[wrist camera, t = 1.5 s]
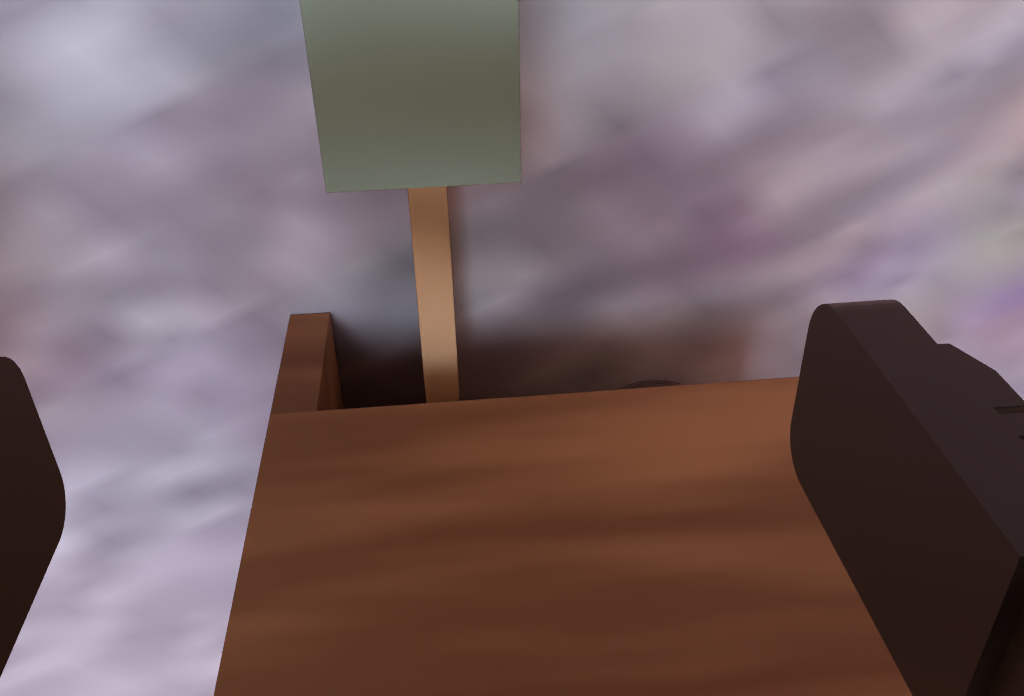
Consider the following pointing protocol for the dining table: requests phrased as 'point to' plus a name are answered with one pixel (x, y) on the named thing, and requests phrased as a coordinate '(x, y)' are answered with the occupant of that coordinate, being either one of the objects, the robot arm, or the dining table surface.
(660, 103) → the dining table surface
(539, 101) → the dining table surface
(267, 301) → the dining table surface
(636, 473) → the bread box
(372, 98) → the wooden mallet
